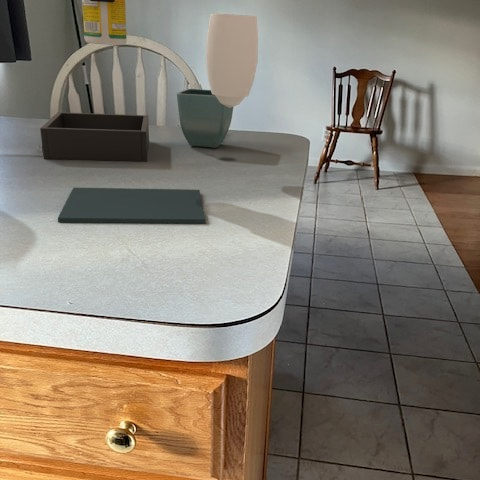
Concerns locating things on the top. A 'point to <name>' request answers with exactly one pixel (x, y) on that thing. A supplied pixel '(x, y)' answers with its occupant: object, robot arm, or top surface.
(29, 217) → the top surface
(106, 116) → the black box
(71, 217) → the mat
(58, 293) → the top surface
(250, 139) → the top surface
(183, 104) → the flower pot
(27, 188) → the top surface
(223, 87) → the beige tapered shape
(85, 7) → the supplement bottle
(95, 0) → the robot arm
